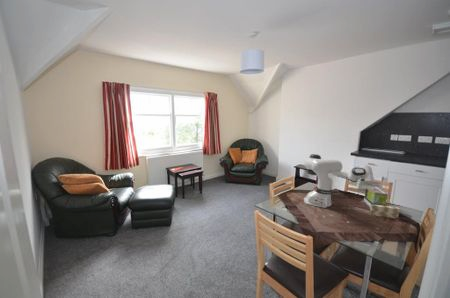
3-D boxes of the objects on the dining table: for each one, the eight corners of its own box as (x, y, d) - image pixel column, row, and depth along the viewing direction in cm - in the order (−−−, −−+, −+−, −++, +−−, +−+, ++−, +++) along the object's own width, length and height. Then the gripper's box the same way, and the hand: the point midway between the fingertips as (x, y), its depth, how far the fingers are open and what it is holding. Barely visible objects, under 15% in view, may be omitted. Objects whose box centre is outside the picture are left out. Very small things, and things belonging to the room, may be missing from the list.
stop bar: (370, 215, 161) (372, 205, 159) (369, 213, 163) (370, 204, 162) (397, 218, 156) (399, 209, 154) (395, 216, 159) (397, 207, 157)
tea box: (385, 210, 168) (388, 193, 165) (371, 209, 170) (374, 192, 167) (375, 202, 182) (378, 186, 179) (363, 201, 184) (365, 185, 181)
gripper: (379, 184, 190) (382, 198, 183) (355, 181, 195) (357, 195, 188) (382, 181, 185) (386, 195, 178) (357, 178, 190) (359, 193, 183)
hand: (371, 195), depth 183 cm, fingers closed
